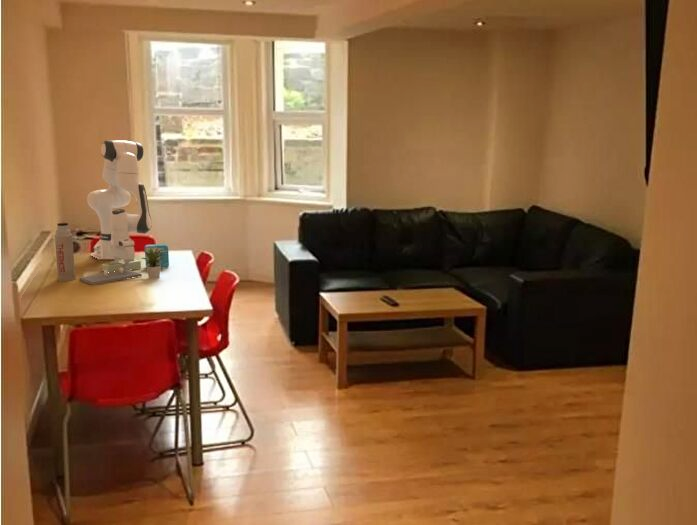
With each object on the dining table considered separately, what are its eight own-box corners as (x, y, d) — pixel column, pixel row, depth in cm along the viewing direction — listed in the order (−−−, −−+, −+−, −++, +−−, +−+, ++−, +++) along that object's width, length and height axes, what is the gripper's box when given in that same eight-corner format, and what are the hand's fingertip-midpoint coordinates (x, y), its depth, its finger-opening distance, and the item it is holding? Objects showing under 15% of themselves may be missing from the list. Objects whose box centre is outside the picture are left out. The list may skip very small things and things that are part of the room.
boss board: (79, 280, 350) (78, 271, 350) (127, 272, 369) (126, 263, 368) (93, 285, 341) (92, 276, 340) (141, 276, 360) (141, 267, 359)
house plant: (160, 282, 348) (158, 249, 344) (134, 280, 351) (132, 248, 347) (173, 276, 362) (171, 244, 358) (147, 274, 364) (146, 243, 361)
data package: (145, 268, 378) (144, 246, 376) (145, 266, 383) (144, 244, 380) (169, 267, 382) (168, 245, 379) (168, 265, 386) (167, 243, 383)
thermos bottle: (66, 281, 348) (61, 224, 342) (54, 279, 351) (50, 223, 346) (79, 278, 355) (74, 222, 349) (67, 276, 358) (63, 221, 353)
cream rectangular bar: (134, 266, 383) (134, 259, 382) (141, 268, 379) (140, 260, 378) (102, 271, 370) (101, 264, 369) (108, 273, 366) (108, 266, 365)
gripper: (104, 239, 376) (106, 264, 379) (125, 244, 362) (126, 270, 365) (115, 237, 381) (117, 263, 383) (136, 242, 367) (137, 268, 370)
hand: (122, 266), depth 374 cm, fingers closed on cream rectangular bar, 7 cm apart
